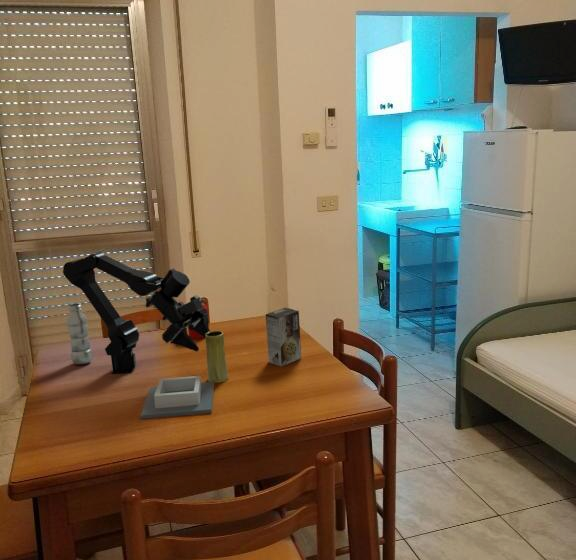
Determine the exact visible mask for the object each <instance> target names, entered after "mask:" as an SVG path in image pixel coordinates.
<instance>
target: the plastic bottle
mask: <svg viewBox="0 0 576 560" xmlns="http://www.w3.org/2000/svg"><path fill="white" fill-rule="evenodd" d="M82 310H83V308H82V304H81V303H72V304H69V305H68V311H69V314H68V316H67V317H66V320H65V323H66V327H67V330H68V334H69V339H70V348H71V349H70V350H71V352H70V357H71V358H70V359H71V362H72V363H73V364H75V365H85V364H86V365H87V364H89V363H91V362H92V360H93V359H94V358H93V351H92V349H91V344H90V340H89V333H88V326H89V325H88V324H89V323H88V318H87V316H86V314H85V313H84V312H82Z"/></svg>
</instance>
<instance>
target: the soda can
mask: <svg viewBox="0 0 576 560" xmlns="http://www.w3.org/2000/svg"><path fill="white" fill-rule="evenodd" d="M202 306H203V307H202V308H204V309H205V310H206V311H207V312H208V306H207V305H206V304H205V303H204V302H202ZM209 322H210V321H209V312H208V313H207V320H206V323H207V325H208V328H209V329H210V326H209V325H210V324H209ZM193 328H194V327H190V326H188V327H187V330H188V331H187V332H188V335H189V337H190V338H191V339H192V340H200V339H206V338H205V337H203V336H202V335H200V334H199V333H197V332H195V331H194V330H192V329H193Z"/></svg>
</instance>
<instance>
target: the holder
mask: <svg viewBox="0 0 576 560" xmlns="http://www.w3.org/2000/svg"><path fill="white" fill-rule="evenodd" d="M214 391H215V383H214V382H209V381H207V382H206V381H205V382H202V377H201V375H195V376H194V375H193V376H182V377H181V376H179V377H169V378H168V377H167V378H166V377H165V378H159V380H158V383H157V386H156V385H155V386H150V388H149V390H148V394H147V396H146V399H145V401H144V405H143V407H142V409H141V414H140V419H141V420H144V419H153V418H155V419H156V418H166V417H177V416H180V417H181V416H189V415H190V416H191V415H201V414H202V415H203V414H212V413H213V403H214Z"/></svg>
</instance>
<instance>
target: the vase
mask: <svg viewBox="0 0 576 560" xmlns="http://www.w3.org/2000/svg"><path fill="white" fill-rule="evenodd" d="M204 339H205V350H206V366H207V367H206V370H207V378H206V379H207V382H214V384H220V383H221V384H222V383H225V382H226V381H228V379H229V374H228V368H227V360H226V359H227V358H226V351H225V350H226V349H225V348H226V347H225V335H224V332H223V331H221V330H212V331H211V330H210V332H208V333H206V334H205V338H204Z"/></svg>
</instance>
